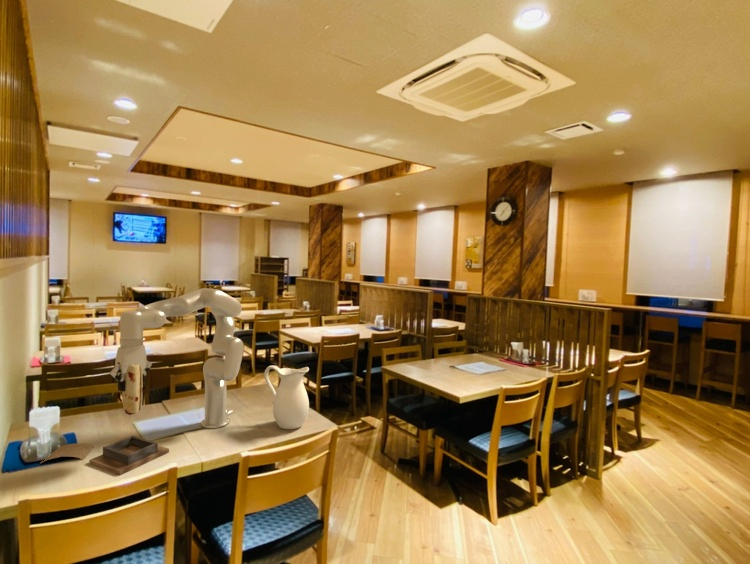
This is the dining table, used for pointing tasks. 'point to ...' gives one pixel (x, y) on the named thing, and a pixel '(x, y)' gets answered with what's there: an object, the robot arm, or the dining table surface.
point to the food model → (133, 390)
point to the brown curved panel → (72, 451)
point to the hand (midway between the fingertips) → (131, 387)
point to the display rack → (128, 454)
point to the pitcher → (289, 397)
